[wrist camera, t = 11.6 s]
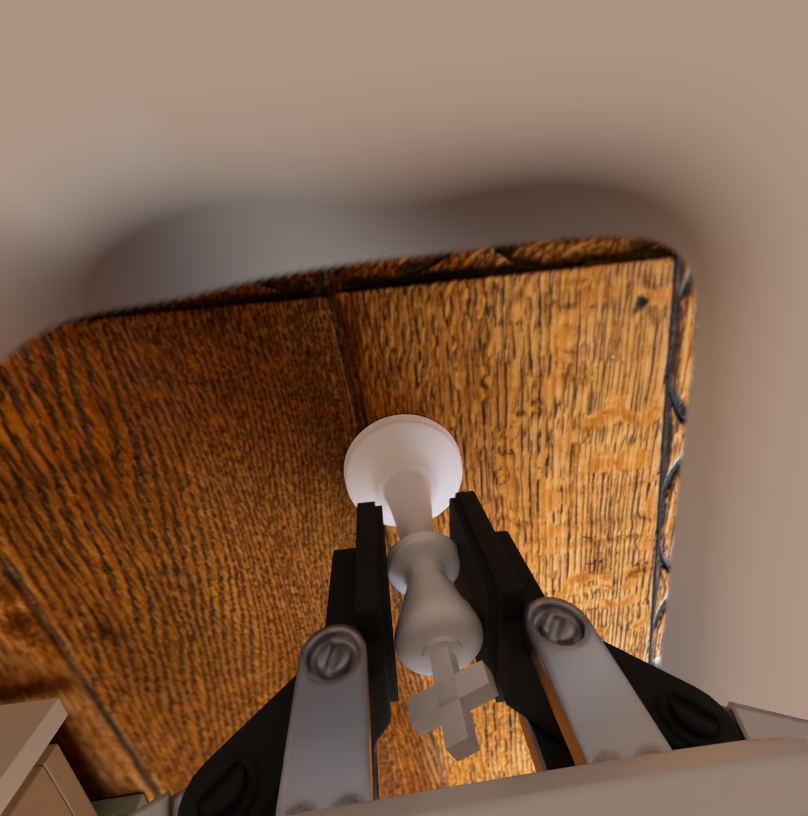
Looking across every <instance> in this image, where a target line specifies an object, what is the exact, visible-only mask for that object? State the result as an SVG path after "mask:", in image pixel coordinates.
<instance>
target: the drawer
mask: <svg viewBox="0 0 808 816" xmlns="http://www.w3.org/2000/svg"><path fill="white" fill-rule="evenodd" d="M67 716H68V713H67V711H66V710H65V708H64V706H63V704H62V702H61V700H60V698H58V697H57V698H50V699H43V700H35V701H28V702H21V703H14V704H6V705H0V816H98V815H97V813H96V811H95V810H94V808H93V806H92V804H91V802H90V801H89V799H88V797H87V795H86V794H85V792H84V790H83V788H82V786H81V785H80V783H79V781H78V779H77V777H76V776H75V774H74V772H73V770H72V769H71V767H70V765H69V763H68V761H67V760H66V758H65V756H64V754H63V753H62V751H61V749H60V747H59V745H58V744H52V745H48V744H49V743H50V741H51V740H52V738H53V737H54V735H55V734H56V732H57V731H58V729H59V728H60V726H61V725H62V723H63V722H64V720H65V719H66V717H67Z"/></svg>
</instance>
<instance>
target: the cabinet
mask: <svg viewBox="0 0 808 816" xmlns="http://www.w3.org/2000/svg"><path fill="white" fill-rule="evenodd" d="M147 803H148V802H147V800H146V798H145V796H144V794H136V795H130V796H124V797H117V798H111V799H105V800H99V801H92V802H91V804H92V806H93V808H94V810H95V811H96V813H97V815H98V816H126V815H128V814H130V813H132V812H133V811H135V810H137V809H138V808H140V807H142V806H144V805H145V804H147Z"/></svg>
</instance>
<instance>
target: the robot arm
mask: <svg viewBox="0 0 808 816" xmlns="http://www.w3.org/2000/svg"><path fill="white" fill-rule="evenodd" d="M449 514H450V539H451V540H452V541H453V542H454V543H455V544H456V545H457V547H458V556H459V559H460V571H459V574H458V576H457V578H456V580H455V581H454V586H455V587H456V589H457V591H458V592H459V593H460V595H461V596H462V597H463V598H464V599H465V600H466V601H467V602H468V603H469V604H470V606H471V607H472V608H473V610H474V611H475V612H476V614H477V615H478V617H479V619H480V621H481V623H482V626H483V630H484V640H483V644H482V647H481V649H480V651H479V653H478V654H477V656H476V657H475V658H476V661H477V662H479V661H481V660H482V661H483V662H484V664H485V665H486V666H487V667H488V669H489V670H490V671H491V672H492V675H493V678H494V681H495V685H496V688H497V691H498V694H499V696H498V697H496V698H495V699H496V702H502V701H505V702H506V704H507V705H508V706H510V707H511V708H513V709H514V710H515V711H517V712H518V716H519V721H520V724H521V727H522V730H523V733H524V736H525V739H526V742H527V745H528V748H529V751H530V754H531V757H532V760H533V763H534V766H535V769H536V773H530V774H524V775H518V776H512V777H506V778H500V779H494V780H489V781H483V782H477V783H471V784H465V785H459V786H453V787H447V788H441V789H436V790H430V791H424V792H418V793H412V794H407V795H401V796H395V797H389V798H384V799H381V797H380V776H379V755H378V738H379V737H380V736H381V734H382V733H383V732H384V730H385V729H386V728H387V726H388V725H389V723H390V722H391V720H390V719H391V707H390V702H394V701H399V697H398V685H397V674H396V662H395V650H394V639H393V627H392V616H391V604H390V592H389V581H388V569H387V557H386V546H385V534H384V523H383V511H382V505H380V506H375V501H373V502H363V503H357V530H356V548H350V549H341V550H334V552H333V559H332V569H331V578H330V587H329V597H328V606H327V615H326V625H325V627H324V628H322V629H321V630H319V631H317V632H315V633H314V634H313V635H312V636H311V637H310V638H309V639H308V640H307V642H306V643H305V645H304V646H303V648H302V650H301V653H300V656H299V661H298V667H297V674H296V676H295V677H294V678H293V679H292V680H291V681H289V682H288V683H287V684H286V685H285V686H284V687H283V688H282V689H281V690H280V691H279V692H278V693H277V694H276V695H275V696H274V697H273V698H272V699H271V700H270V701H269V702H268V703H267V704H266V705H265V706H263V707H262V708H261V709H260V710H259V711H258V712H257V713H256V714H255V715H254V716H253V717H252V718H251V719H250V720H249V721H248V722H247V723H246V724H245V725H244V726H243V727H242V728H241V729H240V730H239V731H237V732H236V733H235V734H234V735H233V736H232V737H231V738H230V739H229V740H228V741H227V742H226V743H225V744H224V745H223V746H222V747H221V748H220V749H219V750H218V751H217V752H216V753H215V754H214V755H213V756H211V757H210V758H209V759H208V760H207V761H206V762H205V763H204V765H203V766H202V767H201V768H200V769H199V770H198V771H197V773H196V774H195V775H194V776H193V778H192V780H191V781H190V783H189V785H188V786H187V788H185V789H183V790H182V791H180V792H178V793H176V794H175V795H173V796H171V794H170V792H169V791H168V792H166V793H164V794H163V795H161V796H159V797H157V798H156V799H154V800H152V801H151V802H149V803H147V804H145V805H144V806H142V807H140V808H138V809H137V810H135V811H133V812H132V813H130V814H128V815H126V816H808V720H804V719H800V718H796V717H792V716H788V715H783V714H779V713H775V712H771V711H766V710H762V709H758V708H754V707H750V706H745V705H741V704H737V703H733V702H728V705H727V707H724V706H721V705H720V704H718V703H717V702H716V701H715V700H714V699H713V698H711V697H710V696H709V695H708V694H706V693H704V692H703V691H701V690H700V689H698V688H696V687H695V686H692V685H691V684H689V683H687V682H684V681H683V680H680V679H679V678H676V677H675V676H673V675H670V674H668V673H666V672H664V671H662V670H660V669H658V668H656V667H654V666H652V665H650V664H648V663H646V662H644V661H642V660H640V659H638V658H636V657H634V656H632V655H630V654H628V653H626V652H624V651H622V650H620V649H618V648H616V647H614V646H612V645H610V644H608V643H606V642H604V641H602V639H601V638H600V636H599V635H598V633H597V632H596V630H595V628H594V627H593V625H592V624H591V622H590V621H589V619H588V618H587V617H586V615H585V614H584V613H583V612H582V611H581V610H580V609H579V608H577V607H576V606H575V605H573V604H571V603H569V602H567V601H565V600H563V599H559V598H554V597H545V596H544V594H543V593H542V591H541V589H540V587H539V586H538V584H537V582H536V580H535V579H534V577H533V575H532V573H531V572H530V570H529V568H528V566H527V565H526V563H525V561H524V559H523V558H522V556H521V554H520V552H519V551H518V549H517V547H516V545H515V544H514V542H513V540H512V538H511V536H510V535H509V534H508V532H507V531H498V532H495V531H494V529H493V527H492V525H491V523H490V521H489V519H488V517H487V515H486V514H485V512H484V510H483V508H482V506H481V504H480V502H479V500H478V498H477V496H476V494H475V492H474V491H468V492H458V493H456V494H455V498H450V500H449Z"/></svg>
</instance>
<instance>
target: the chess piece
mask: <svg viewBox="0 0 808 816" xmlns="http://www.w3.org/2000/svg"><path fill="white" fill-rule="evenodd" d="M462 473H463V468H462V461H461V457H460V452H459V449H458V446H457V444H456V442H455V440H454V439H453V437H452V436H451V435H450V433H449V432H448V431H447V430H446V429H445V428H444V427H442V426H441V425H440V424H438V423H436V422H435V421H433V420H431V419H428V418H425V417H422V416H418V415H410V414H401V415H393V416H389V417H386V418H383V419H380V420H378V421H376V422H374V423H372V424H370V425H369V426H368V427H366V428H365V429H364V430H362V431H361V432H360V433H359V434H358V435H357V437H356V438H355V439H354V440H353V442H352V444H351V445H350V447H349V449H348V451H347V454H346V457H345V462H344V478H345V483H346V488H347V491H348V494H349V496H350V498H351V500H352V502H353V503H354V505H355V506H356V507H357V503H363V502H373V501H375V506H380V505H382V511H383V523H384V525H389V526H396V527H397V530H398V533H399V536H400V540H399V541H398V542H397V543H396V544H395V545H394V546H393V547H392V548H391V550H390V551H389V553H388V555H387V569H388V578H389V579H390V582H391V583H392V585H393V586H394V587H395V588H396V589H397V590H398V591H399V592H401V593H402V594H404V603H403V607H402V611H401V614H400V616H399V619H398V623H397V627H396V632H395V640H394V644H395V651H396V654H397V656H398V658H399V660H400V661H401V662H402V663H403V664H404V665H405V666H406V667H407V668H408V669H410V670H412V671H414V672H416V673H418V674H422V675H427V676H433V679H434V684H435V685H434V686H432V687H430V688H428V689H426V690H424V691H422V692H420V693H419V694H417V695H415V696H413V697H411V698H409V699H407V701H408V710H409V720H410V725H411V726H412V727H413V728H414V729H415V730H416V731H417V732H418V733H419V734H420V735H421V736H422V735H424V734H426V733H428V732H430V731H432V730H434V729H436V728H438V727H440V726H441V725H442V729H443V735H444V741H445V746H446V750H447V751H448V752H449V753H450V754H451V755H452V756H453V757H454V758H455V759H456V760H457V761H460V760H462V759H464V758H466V757H468V756H470V755H472V754H473V753H475V752H477V751H479V750H480V749H479V745H478V741H477V737H476V733H475V729H474V725H473V721H472V717H471V713H470V710H472V709H474V708H476V707H478V706H480V705H482V704H484V703H486V702H488V701H490V700H492V699H494V698H496V697H498V696H499V694H498V691H497V688H496V685H495V681H494V678H493V675H492V672H491V671H490V670H489V669H488V667H487V666H486V665H485V664H484V662H483V661H482V660H481V661H479V662H477V663H475V664H473V665H471V666H470V667H468V668H466V669H464V670H462V671H460V669H462V668H464V667H465V666H467V665H468V664H469V663H470V662H471V661H472V660H473V659H474V658H475V657H476V656H477V654H478V653H479V651H480V649H481V647H482V644H483V640H484V630H483V626H482V623H481V621H480V619H479V617H478V615H477V614H476V612H475V611H474V610H473V608H472V607H471V606H470V604H469V603H468V602H467V601H466V600H465V599H464V598H463V597H462V596H461V595H460V593H459V592H458V591H457V589H456V587H455V586H454V584H453V583H454V581H455V580H456V578H457V576H458V574H459V571H460V559H459V556H458V547H457V545H456V544H455V543H454V542H453V541H452V540H451V539H450V538H449V537H447V536H445V535H443V534H441V533H438V532H434V527H433V518H434V517H436V516H437V515H439V514H440V513H441V512H443V511H444V510H445V509H446V508H447V507H448V506H449V500H450V498H455V494H456V493H458V490H459V488H460V485H461V481H462Z"/></svg>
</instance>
